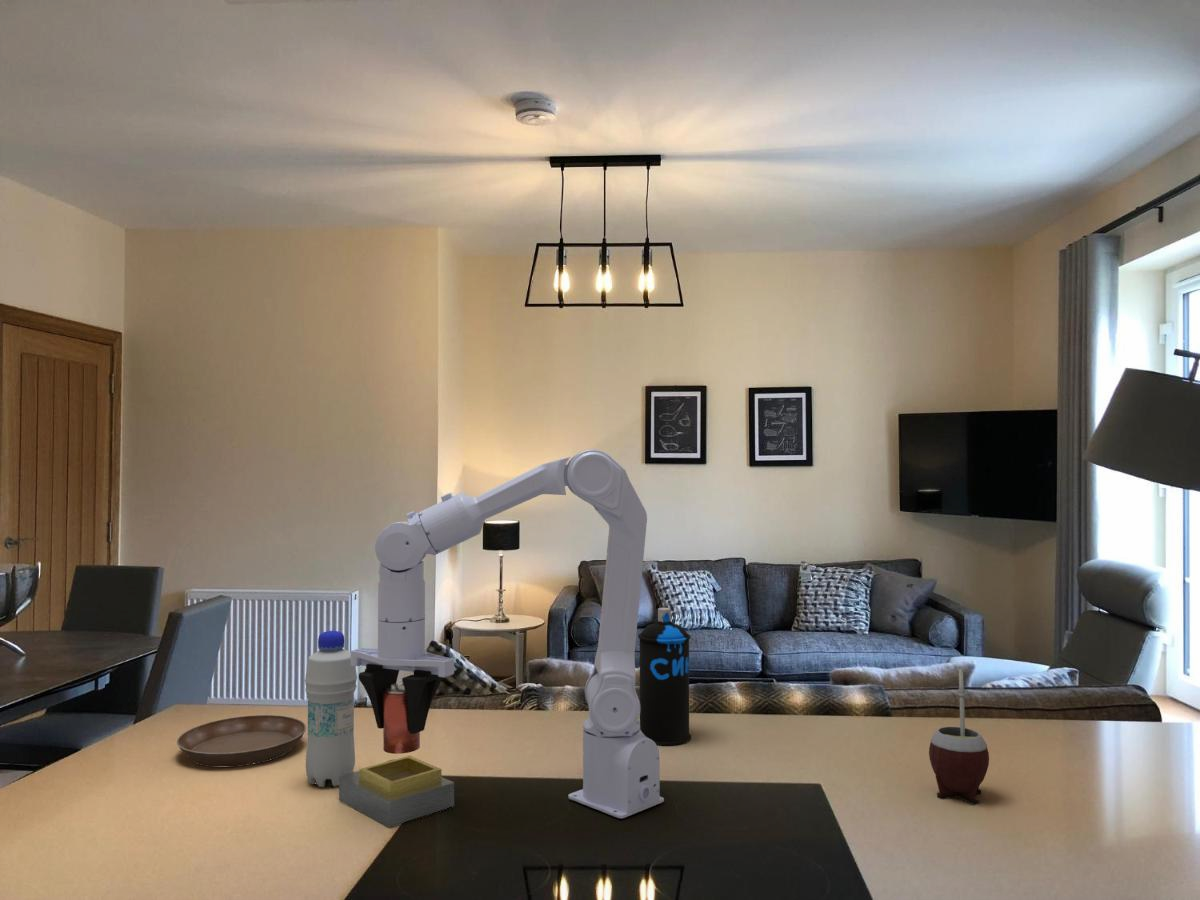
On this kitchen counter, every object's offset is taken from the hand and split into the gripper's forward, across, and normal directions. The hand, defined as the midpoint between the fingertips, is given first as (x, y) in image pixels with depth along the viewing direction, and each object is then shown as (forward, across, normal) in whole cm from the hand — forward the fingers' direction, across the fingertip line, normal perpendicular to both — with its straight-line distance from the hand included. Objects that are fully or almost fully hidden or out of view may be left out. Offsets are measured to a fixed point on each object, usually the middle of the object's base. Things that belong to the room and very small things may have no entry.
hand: (400, 729), depth 107 cm
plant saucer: (+10, +35, -7) cm, 37 cm away
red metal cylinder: (+2, 0, 0) cm, 2 cm away
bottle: (+10, +14, -3) cm, 17 cm away
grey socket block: (+9, +1, 0) cm, 9 cm away
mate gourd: (+10, -62, -34) cm, 71 cm away
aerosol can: (+10, -20, -40) cm, 45 cm away
